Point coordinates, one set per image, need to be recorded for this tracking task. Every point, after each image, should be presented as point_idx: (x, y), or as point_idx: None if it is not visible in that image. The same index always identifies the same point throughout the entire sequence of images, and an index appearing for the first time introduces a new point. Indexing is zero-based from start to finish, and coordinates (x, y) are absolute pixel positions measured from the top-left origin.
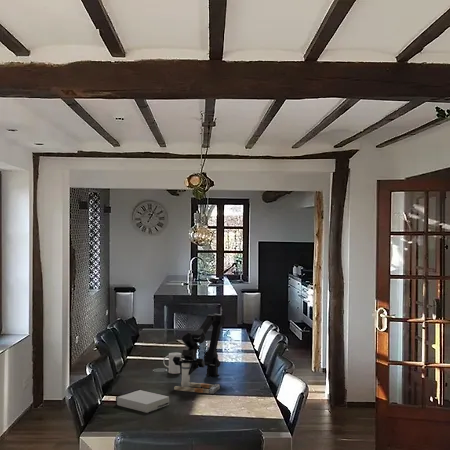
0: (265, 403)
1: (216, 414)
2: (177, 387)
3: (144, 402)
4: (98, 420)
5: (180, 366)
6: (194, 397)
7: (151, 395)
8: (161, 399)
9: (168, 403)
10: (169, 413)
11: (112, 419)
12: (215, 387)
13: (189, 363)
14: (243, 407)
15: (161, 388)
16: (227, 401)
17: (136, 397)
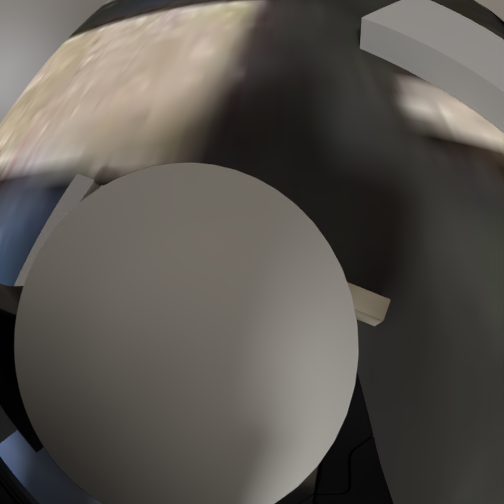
0: (19, 108)
1: (184, 9)
2: (356, 287)
3: (433, 4)
4: (494, 23)
5: (367, 468)
6: (221, 118)
7: (452, 43)
8: (385, 7)
9: (363, 45)
10: (335, 3)
11: (471, 16)
12: (50, 217)
13: (19, 349)
14: (84, 62)
15: (485, 361)
16: (93, 94)
17: (493, 45)
